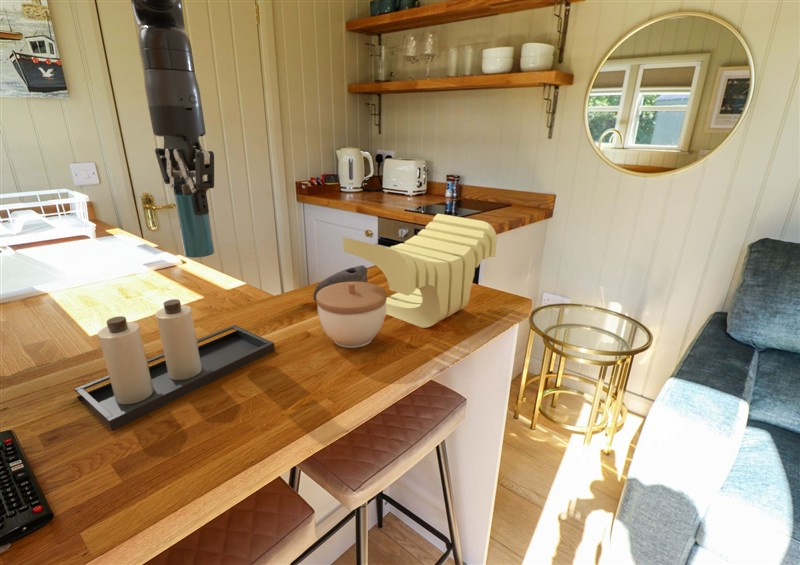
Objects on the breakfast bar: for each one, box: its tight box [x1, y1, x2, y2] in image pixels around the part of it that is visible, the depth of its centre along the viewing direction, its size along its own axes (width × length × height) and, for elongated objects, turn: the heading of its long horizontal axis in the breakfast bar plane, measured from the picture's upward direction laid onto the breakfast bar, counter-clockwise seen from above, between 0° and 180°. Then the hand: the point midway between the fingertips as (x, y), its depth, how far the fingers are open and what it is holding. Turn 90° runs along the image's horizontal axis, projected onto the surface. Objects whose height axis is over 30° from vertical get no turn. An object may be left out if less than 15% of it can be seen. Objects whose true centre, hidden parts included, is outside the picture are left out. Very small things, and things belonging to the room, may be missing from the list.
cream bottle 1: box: [97, 315, 154, 405], centre depth 59 cm, size 5×5×12 cm
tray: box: [73, 324, 276, 432], centre depth 67 cm, size 12×26×2 cm, turn 144°
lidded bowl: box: [315, 282, 388, 349], centre depth 77 cm, size 13×13×11 cm
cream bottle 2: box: [154, 298, 202, 380], centre depth 65 cm, size 5×5×12 cm
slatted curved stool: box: [342, 213, 498, 329], centre depth 88 cm, size 30×16×18 cm, turn 139°
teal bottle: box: [173, 183, 215, 259], centre depth 72 cm, size 5×5×12 cm
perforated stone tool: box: [313, 264, 369, 304], centre depth 94 cm, size 15×5×7 cm, turn 133°
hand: (193, 212), depth 72 cm, fingers closed on teal bottle, 5 cm apart
